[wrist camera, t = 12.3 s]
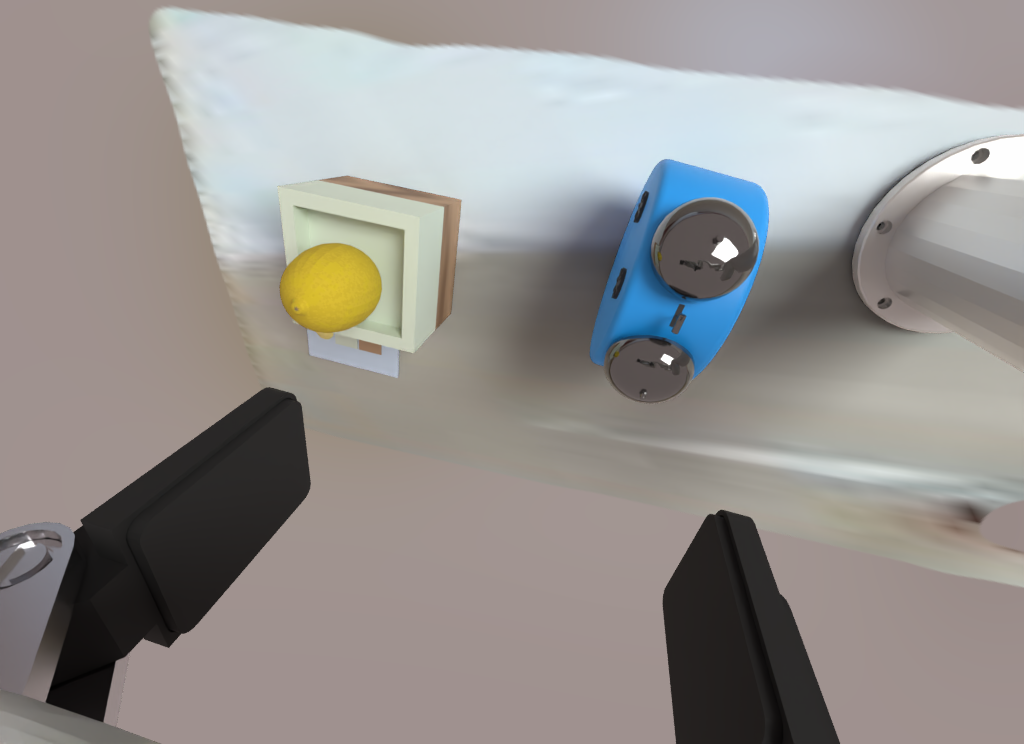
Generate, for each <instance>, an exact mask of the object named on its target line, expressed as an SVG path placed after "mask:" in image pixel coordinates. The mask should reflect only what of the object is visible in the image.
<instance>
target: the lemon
mask: <svg viewBox="0 0 1024 744" xmlns="http://www.w3.org/2000/svg"><path fill="white" fill-rule="evenodd" d="M381 292H382V282H381V276H380V273H379V270H378V269H377V267H376V265H375V263H374V262H373V261H372V260H371V258H370V257H369V256H368V255H366V254H365V253H364V252H362V251H361V250H359V249H357V248H355V247H353V246H350V245H346V244H342V243H327V244H320V245H317V246H315V247H312V248H310V249H307V250H305V251H304V252H302V253H301V254H299V255H298V256H297V257H296V258H295V259H294V260H293V261H292V262H291V263H290V264H289V265H288V266H287V268H286V269H285V271H284V273H283V275H282V278H281V282H280V296H281V300H282V303H283V306H284V307H285V309H286V311H287V313H288V314H289V315H290V316H291V318H292V319H294V320H295V321H296V322H297V323H298V324H300V325H302V326H303V327H305V328H307V329H309V330H312V331H315V332H321V333H333V332H340V331H344V330H347V329H350V328H352V327H354V326H356V325H358V324H360V323H361V322H363V321H364V320H365V319H366V318H367V317H368V316H369V315H370V314H371V313H372V312H373V311H374V310H375V308H376V306H377V304H378V302H379V300H380V297H381Z"/></svg>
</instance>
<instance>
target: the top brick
mask: <svg viewBox="0 0 1024 744" xmlns="http://www.w3.org/2000/svg"><path fill="white" fill-rule="evenodd" d="M277 187H278V195H279V204H280V213H281V221H282V230H283V239H284V247H285V256H286V265H287V266H288V265H289V264H290V263H291V262H292V261H293V260H294V259H295V258H296V257H297V256H298V255H299V254H301V253H302V252H304V251H305V250H307V249H310V248H312V247H315V246H317V245H320V244H327V243H342V244H346V245H350V246H353V247H355V248H357V249H359V250H361V251H362V252H364V253H365V254H366V255H368V256H369V257H370V258H371V260H372V261H373V262H374V263H375V265H376V267H377V269H378V270H379V273H380V276H381V282H382V292H381V297H380V300H379V302H378V304H377V306H376V308H375V310H374V311H373V312H372V313H371V314H370V315H369V316H368V317H367V318H366V319H365V320H364V321H363V322H361V323H360V324H358V325H356V326H354V327H352V328H350V329H347V330H344V331H340V332H333V333H335V334H339V335H343V336H347V337H351V338H355V339H359V340H363V341H367V342H371V343H375V344H379V345H383V346H387V347H391V348H394V349H398V350H402V351H406V352H410V353H414V352H415V351H416V350H417V349H418V348H419V347H420V346H421V345H422V344H423V343H424V342H425V341H426V340H427V338H428V337H429V336H430V335H431V334H432V333H433V332H434V331H435V327H436V313H437V300H438V286H439V272H440V259H441V245H442V231H443V218H444V207H442V206H437V205H433V204H428V203H423V202H419V201H414V200H409V199H404V198H400V197H395V196H390V195H386V194H381V193H376V192H371V191H367V190H362V189H357V188H353V187H348V186H343V185H339V184H334V183H329V182H324V181H320V180H316V181H309V182H303V183H296V184H290V185H283V186H277ZM293 323H295V324H298V323H297V322H296V321H295V320H294V319H293ZM299 325H300V324H299Z"/></svg>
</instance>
